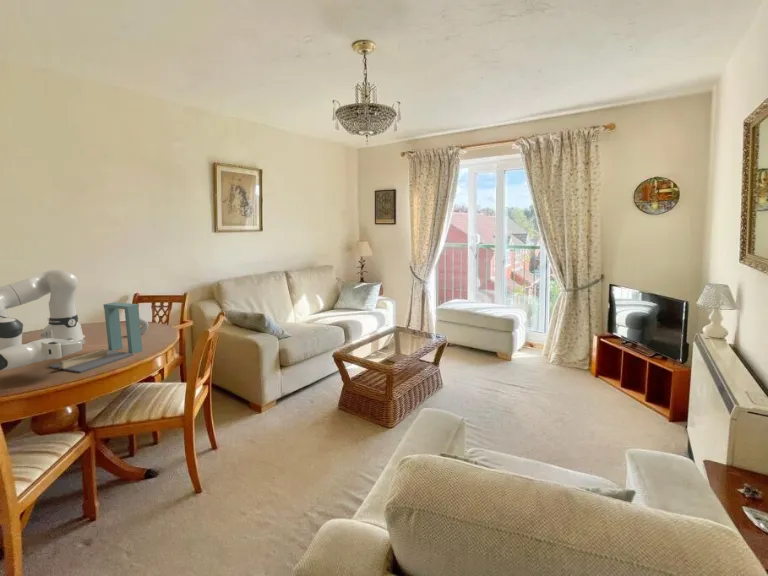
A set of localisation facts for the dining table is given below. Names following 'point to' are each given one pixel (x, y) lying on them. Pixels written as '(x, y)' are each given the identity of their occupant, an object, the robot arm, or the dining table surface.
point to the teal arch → (131, 326)
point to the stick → (83, 359)
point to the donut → (144, 325)
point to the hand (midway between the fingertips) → (77, 340)
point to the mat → (96, 361)
